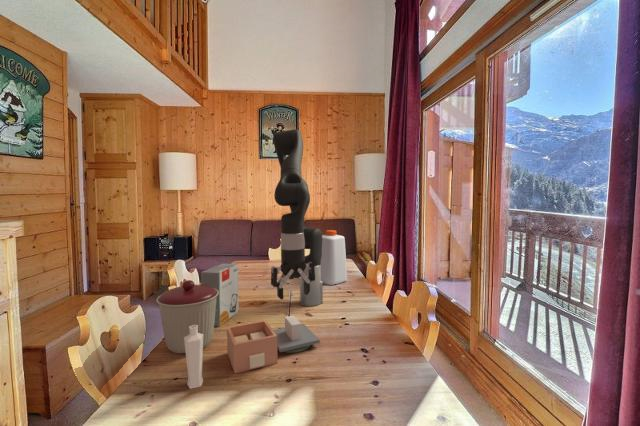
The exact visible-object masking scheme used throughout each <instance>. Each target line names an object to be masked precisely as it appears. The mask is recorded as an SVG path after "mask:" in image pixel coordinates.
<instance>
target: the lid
mask: <svg viewBox="0 0 640 426" xmlns="http://www.w3.org/2000/svg"><path fill="white" fill-rule="evenodd" d="M273 331H274V332H275V333H276V335H277V349H278V350H277V351H279V353H284V352H283V351H287V350H292V349H296V348H300V347H304V346H309V345H310V346H311V345H315V344H320V342H321V341H320V339H319V337H318V336H316V335H315V334H314V332H313V331H312V330H310V328H309V327H308V326H306V324H304V323H302V322H301V321H299V320H298V319H297V318H296V317H295V316H294V315H288V316H285V317H284V327H282V328H277V329H273Z"/></svg>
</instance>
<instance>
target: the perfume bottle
mask: <svg viewBox="0 0 640 426" xmlns="http://www.w3.org/2000/svg"><path fill="white" fill-rule="evenodd" d="M189 328H190V334H189V335H188V336H186V337H184V342H185V351H186V353H185V358H186V368H187V377H188V379H187V386H188V388H189V389H190V390H192V389H195V388H200V387H201V386H202V385H203V382H204V378H203V375H202V374H203V355H204V353H203V352H204V348H203V335H204V334H200V333H198V325H192V326H190V327H189Z"/></svg>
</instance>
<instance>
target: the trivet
mask: <svg viewBox="0 0 640 426" xmlns="http://www.w3.org/2000/svg"><path fill="white" fill-rule="evenodd" d="M310 347H311V345H309V346H304V347H300V348H296V349H292V350H287V351H283V352H282V353H291V354H294V353H300V352H303V351H306V350H307V349H309V348H310ZM277 351H279V350H278V349H277Z"/></svg>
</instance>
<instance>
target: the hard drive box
mask: <svg viewBox="0 0 640 426" xmlns="http://www.w3.org/2000/svg"><path fill="white" fill-rule="evenodd" d="M200 272H201V273H200V285H207V286H211V287H213V288H215V289H217V290H218V291H219V294H218V296H217V298H216V310H215V322H214V327H221V326H222V325H223V324H225V323H226V322H227V321H228V320H230V319H231V318H233V317H234V316H235V315H236V314H237V313H238V312H239V309H240V308H239V301H240V300H239V264H238V263H236V264H235V263H220V264H218V265H215V266H213V267H211V268H208V269H205V270H203V271H200Z"/></svg>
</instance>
